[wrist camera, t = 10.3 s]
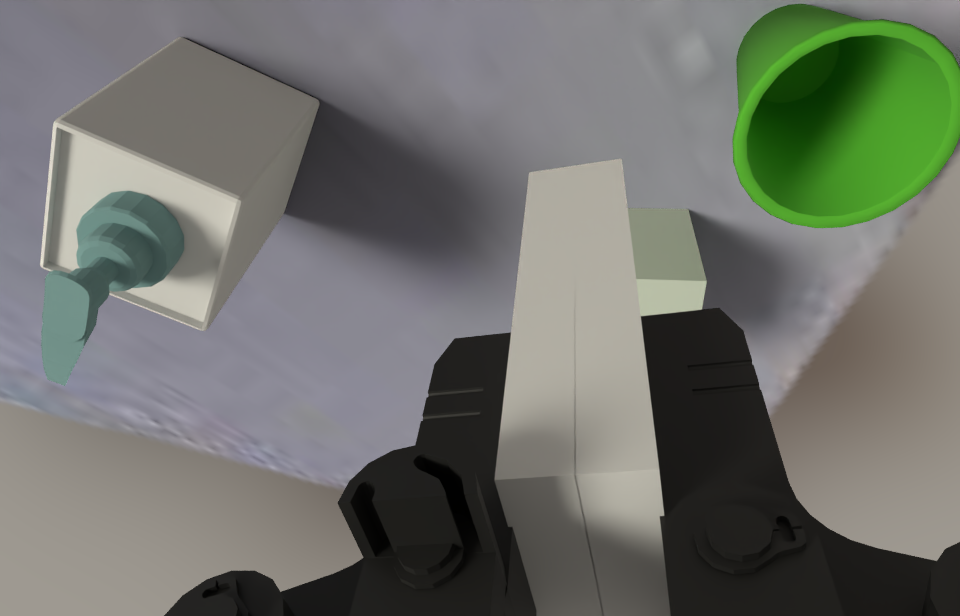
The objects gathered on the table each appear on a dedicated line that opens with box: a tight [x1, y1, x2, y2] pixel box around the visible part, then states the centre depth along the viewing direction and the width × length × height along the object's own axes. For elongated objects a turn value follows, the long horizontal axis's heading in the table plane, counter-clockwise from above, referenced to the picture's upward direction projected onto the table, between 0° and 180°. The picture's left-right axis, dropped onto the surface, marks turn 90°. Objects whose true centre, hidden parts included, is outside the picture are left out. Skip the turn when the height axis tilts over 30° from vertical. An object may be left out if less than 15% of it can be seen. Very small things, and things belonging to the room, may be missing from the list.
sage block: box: [628, 208, 707, 316], centre depth 44 cm, size 6×6×8 cm
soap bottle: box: [40, 37, 319, 386], centre depth 38 cm, size 9×9×19 cm
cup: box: [733, 4, 960, 228], centre depth 35 cm, size 9×9×11 cm
